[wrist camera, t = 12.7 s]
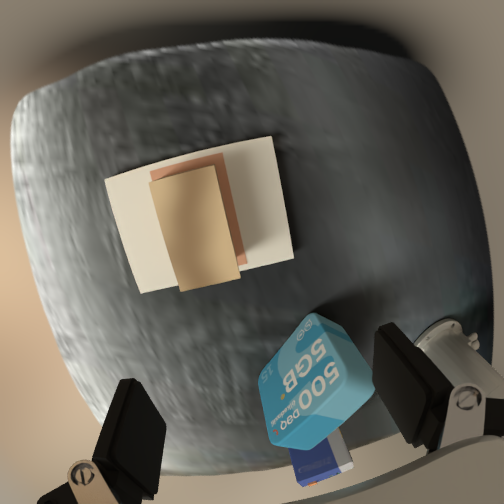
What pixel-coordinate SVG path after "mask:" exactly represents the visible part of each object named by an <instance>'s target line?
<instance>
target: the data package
mask: <svg viewBox="0 0 504 504" xmlns="http://www.w3.org/2000/svg"><path fill="white" fill-rule="evenodd" d="M258 385H259V390H260V395H261V400H262V405H263V410H264V415H265V420H266V425H267V430H268V435H269V439H270V441H271V443H272V444H274V445H277V446H282V447H288V448H294V449H300V450H310V449H312V448H313V447H315V446H316V445H317V444H318V443H320V442H321V441H322V440H323V439H325V438H326V437H327V436H328V435H329V434H331V433H332V432H333V431H334V430H335V429H336V428H338V427H339V426H340V425H341V424H342V423H343V422H344V421H346V420H347V419H348V418H349V417H350V416H351V415H352V414H353V413H354V412H355V411H357V410H358V409H359V408H360V407H361V406H362V405H363V404H364V403H365V402H366V401H367V400H368V399H369V398H370V397H371V396H372V394H373V393H374V391H375V387H374V385H373V382H372V370H371V369H370V367H369V366H368V364H367V363H366V361H365V360H364V358H363V357H362V355H361V354H360V352H359V351H358V349H357V348H356V346H355V345H354V343H353V342H352V340H351V339H350V337H349V336H348V334H347V333H346V331H345V330H344V329H343V327H342V326H340V325H338V324H336V323H334V322H332V321H330V320H328V319H326V318H324V317H323V316H321V315H319V314H317V313H310V314H308V315H307V316H306V317H305V318H304V319H303V321H302V322H301V323H300V325H299V326H298V327H297V328H296V330H295V331H294V332H293V333H292V335H291V336H290V337H289V338H288V340H287V341H286V342H285V343H284V345H283V346H282V347H281V348H280V350H279V351H278V352H277V353H276V354H275V356H274V357H273V358H272V359H271V360H270V362H269V363H268V364H267V365H266V366H265V368H264V369H263V370H262V372H261V373H260V376H259V380H258Z"/></svg>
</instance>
